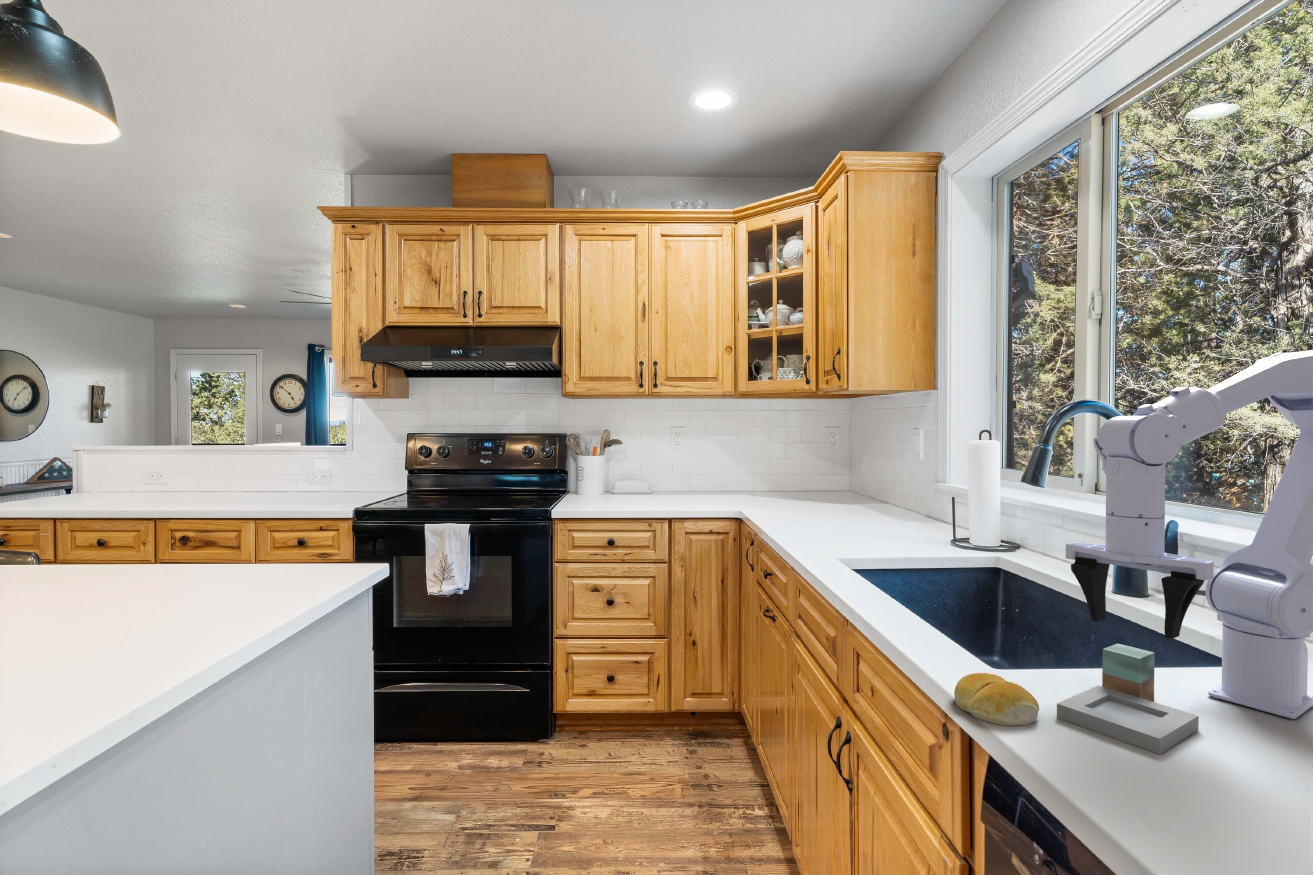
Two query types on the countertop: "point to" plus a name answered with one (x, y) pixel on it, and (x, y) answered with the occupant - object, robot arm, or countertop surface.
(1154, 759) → the countertop surface
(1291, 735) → the countertop surface
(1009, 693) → the bread roll
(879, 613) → the countertop surface
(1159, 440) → the robot arm
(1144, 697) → the brick stack
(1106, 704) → the base plate
